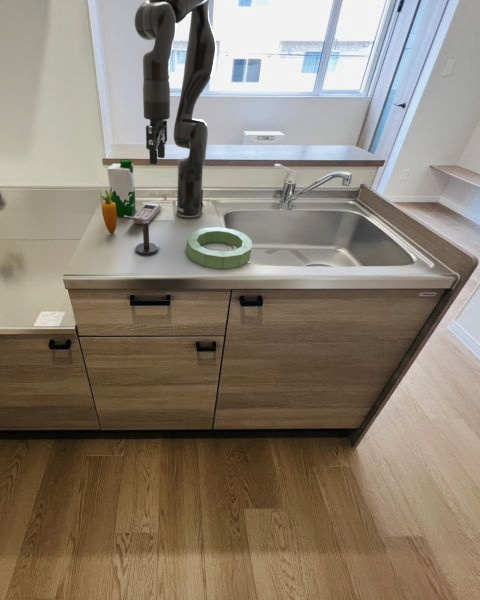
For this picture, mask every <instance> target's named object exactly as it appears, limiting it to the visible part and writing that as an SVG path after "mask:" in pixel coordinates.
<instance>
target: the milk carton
mask: <svg viewBox="0 0 480 600" xmlns="http://www.w3.org/2000/svg"><path fill="white" fill-rule="evenodd" d="M134 166H135V165H134V163H132V160H131V159H128V158H124V159H120V160H119V163H112V164H111V165H109V167H107V168H106V170H107V176H108V177H107V178H108V186H109V194H110V193H111V194H112V195H111V200H110V201H111V202H114V203H115V204H116V213H117V218H125V217H124V215H125V216H129V217H134V216H133V215H134V214H135V213H136V189H135V167H134Z"/></svg>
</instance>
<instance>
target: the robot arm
mask: <svg viewBox="0 0 480 600" xmlns="http://www.w3.org/2000/svg"><path fill="white" fill-rule="evenodd" d="M209 5H210V0H145V1H144V2H142V3H141V4H140V5H139V6H138V7H137V9H136V11H135V15H134V28H135V31H136V33H137V35H138V36H139V38H142V39H143V40H146V41H154V44H153V48H152V49H151V50H149V51H147V52H145V53H144V55H143V57H142V77H143V81H142V101H143V102H142V103H143V118H144V119H145V120H149V125H146V126H145V149H146V150H148V152H149V164H150V165H157V164H158V158H159V159H164V158H165V156H166V143H167V142H168V120H169V119H170V117H171V88H170V86H171V85H170V60H171V54H172V50H173V45H174V41H175V36H176V30H177V24H179V23H180V22H182V21H183V20H184V19H186V17H188V16H189V14H190V23H189V31H188V32H189V33H188V40H187V46H186V54H185V60H184V69H183V78H182V85H181V91H180V97H179V102H178V107H177V110H176V116H175V121H174V125H173V126H174V127H173V141H174V144H175V145H176V146H177V147H178V148H182V149H187V150H189V151H188V152H189V153H188V156H187V157H184V158H181V159H179V160H178V162H177V189H176V190H177V191H176V192H177V193H176V195H177V196H176V216H177V217H179V218H182V219H187V220H188V219H197V218H199V217H201V214H202V211H203V206H204V203H203V200H204V199H203V198H204V189H203V177H204V176H203V175H204V165H205V161H206V156H207V155H206V154H207V148H208V147H207V146H208V138H209V137H208V136H209V131H208V130H209V129H208V125H207V123H206V122H205V121H204V120H203V119H196V118H193V116H194V115H193V114H194V110H195V106H196V104H197V101H198V99H199V97H200V96H201V94H202V93H203V91H204V90H205V88H206V87H207V85H208V84H209V82H210V80H211V78H212V75H213V72H214V67H215V63H216V62H215V61H216V54H217V43H216V40H215V35H214V32H213V29H212V25H211V22H210V17H209Z"/></svg>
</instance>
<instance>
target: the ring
mask: <svg viewBox="0 0 480 600" xmlns="http://www.w3.org/2000/svg"><path fill="white" fill-rule="evenodd" d="M209 243H221V244H228V245H230V246H232V247H235V248H236V249H234V250H228V251H227V250H226V251H218V250H211V249H208V248H206V247H204V246H202V245H205V244H209ZM252 247H253V240H252V239H251V238H250V237H249V236H248V235H247V234H245V233H243V232H241V231H238V230H235V229H233V228H226V227H216V226H215V227H214V226H213V227H204V228H203V227H202V228H199V229H197V230H195V231H193V232H190V233H189V235H188V237H187V239H186V247H185V253H186V254H187V256H188V257H189V259H190V260H191V261H192V262H195V263H197V264H199V265H200V266H203V267H206V268H214V269H219V270H223V269H224V270H226V269H233V268H239V267H241V266H243V265H244V264H246V263H248V262H249V261H250V260H251V254H252Z"/></svg>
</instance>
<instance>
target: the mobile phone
mask: <svg viewBox="0 0 480 600" xmlns="http://www.w3.org/2000/svg"><path fill="white" fill-rule="evenodd" d="M161 209H162V206H161V204H156V203H149V202H147V203H146V204H144V205H143V206H142V207H141V208H140V209H139V210H138V212H137V213H136V214H135V215H134V216H132V217H129V216H125V215H124V217H123V218H126V219H129V220H132V221H133V223H134V224H138V225H143V222H144V221H148V223H149V224H150V222H151V221H152V220H153V219H154V217H156V216H157V215H158V213H159V211H160V210H161Z"/></svg>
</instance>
